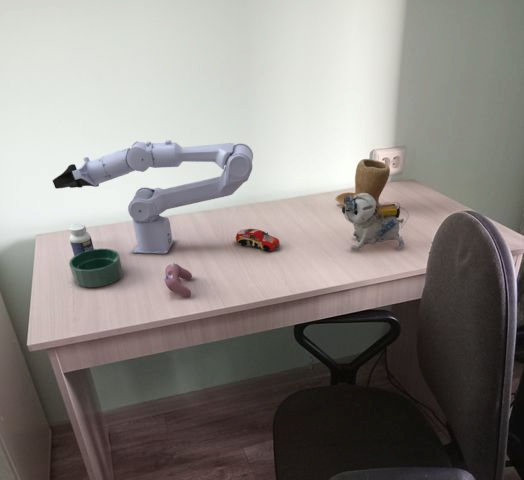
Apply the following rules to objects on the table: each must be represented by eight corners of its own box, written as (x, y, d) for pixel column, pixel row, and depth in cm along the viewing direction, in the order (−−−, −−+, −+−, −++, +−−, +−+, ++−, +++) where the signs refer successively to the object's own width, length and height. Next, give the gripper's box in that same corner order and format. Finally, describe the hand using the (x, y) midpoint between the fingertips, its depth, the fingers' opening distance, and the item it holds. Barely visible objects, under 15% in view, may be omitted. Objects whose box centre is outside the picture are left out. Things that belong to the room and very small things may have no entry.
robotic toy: (334, 238, 140) (337, 186, 131) (393, 234, 141) (401, 181, 132) (344, 259, 130) (348, 203, 121) (409, 254, 131) (418, 198, 122)
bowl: (129, 266, 131) (126, 248, 128) (113, 289, 121) (108, 271, 118) (86, 265, 132) (81, 247, 129) (66, 288, 123) (60, 270, 119)
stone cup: (392, 213, 153) (399, 164, 144) (360, 220, 150) (365, 170, 140) (364, 198, 164) (369, 151, 155) (334, 204, 161) (336, 157, 152)
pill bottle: (91, 266, 132) (81, 231, 126) (72, 264, 132) (62, 230, 127) (100, 256, 136) (91, 223, 130) (82, 255, 137) (72, 222, 131)
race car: (283, 246, 137) (283, 233, 135) (273, 254, 134) (273, 240, 131) (244, 236, 143) (243, 223, 141) (233, 243, 140) (232, 230, 137)
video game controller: (178, 284, 125) (162, 262, 121) (193, 275, 124) (177, 254, 120) (176, 304, 117) (159, 282, 113) (192, 296, 116) (175, 273, 112)
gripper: (113, 152, 132) (68, 168, 134) (89, 150, 118) (40, 168, 121) (123, 179, 134) (79, 194, 136) (101, 180, 120) (52, 197, 123)
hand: (61, 184), depth 129 cm, fingers open, 7 cm apart
